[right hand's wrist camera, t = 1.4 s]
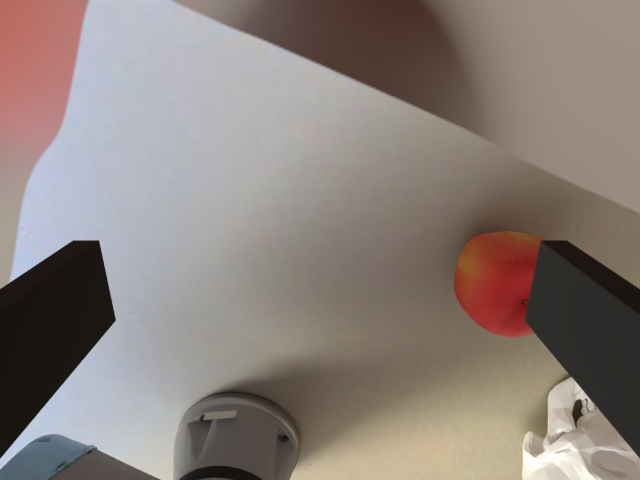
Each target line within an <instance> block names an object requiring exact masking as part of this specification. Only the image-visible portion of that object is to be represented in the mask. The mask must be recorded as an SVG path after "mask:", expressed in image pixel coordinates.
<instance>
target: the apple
mask: <svg viewBox="0 0 640 480" xmlns="http://www.w3.org/2000/svg"><path fill="white" fill-rule="evenodd" d="M541 241H546V240H545V239H543V238H541V237H538V236H536V235H532V234H529V233H524V232H515V231H497V232H489V233H484V234H480V235H478V236H475V237H473V238H471V239H470V240H469V241H468V242H467V243H466V244H465V246H464V247H463V249H462V251H461V253H460V255H459V258H458V261H457V264H456V270H455V276H454V289H455V293H456V297H457V299H458V301H459V303H460V305H461V306H462V308H463V309H464V310H465V312H466V313H467V314H468V315H469V316H470V317H471V318H472V319H473V320H474V321H475V322H476V323H478V324H479V325H480V326H482V327H483V328H485V329H486V330H488V331H490V332H492V333H494V334H497V335H501V336H507V337H521V336H526V335H529V334H532V333H534V331H533V330H532V329H531V328H530V327H529V325H528V324H527V323H526V322H525V321H524V319H525V314H526V309H527V305H528V300H529V295H530V290H531V286H532V281H533V276H534V271H535V267H536V262H537V257H538V252H539V248H540V243H541Z"/></svg>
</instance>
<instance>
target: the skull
mask: <svg viewBox="0 0 640 480" xmlns="http://www.w3.org/2000/svg"><path fill="white" fill-rule="evenodd" d="M587 398H588V403H587V401H586V400H585V399H587ZM577 399H581V402H582V407H583V408H582V409H581V412H582V414H583V416H581V417H580V418H579V419H578V421H577V428H576V426H575V423H574V420H573V416H572V411H573V407H574V403H575V401H576V400H577ZM586 405H587V407H588V408H587V407H586ZM595 407H596V406H595V404H594V403H593V402H592V401H591V400H590V398H589V397H588V396H587V395H586V394H585V392H584V391H583V390H582V389H581V388H580V386H579V385H578V384H577V383H576V382H575V380H574V379H573V378H572V377H569V378H567V379H565V380H564V381H562V382H560V383H559V384H557V385H556V386H555V387H554V388H553V389H552V390H551V391H550V393H549V396H548V433H547V435H546V436H545V437H541V436H540V435H538V434H537V433H536V432H534V431H529V432H528V433H527V434H526V435H525V438H524V442H523V480H640V458H639V457H638V456H637V455H636V453H635V452H634V451H633V450H632V449H631V447H630V446H629V445H628V444H627V443H626V441H625V440H624V439H623V438H622V437H621V435H620V434H619V433H618V432H617V431H616V430H615V428H614V427H613V426H612V425H611V424H610V422H609V421H608V420H607V419H606V418H605V416H604V415H603V414H602V413H601V412H600V410H599V409H598V408H597V407H596V408H597V409H595Z"/></svg>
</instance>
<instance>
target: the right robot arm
mask: <svg viewBox="0 0 640 480" xmlns="http://www.w3.org/2000/svg"><path fill="white" fill-rule="evenodd" d="M115 321H116V319H115V314H114V309H113V305H112V300H111V295H110V290H109V286H108V281H107V276H106V271H105V267H104V262H103V257H102V252H101V248H100V243H99V241H72V242H70V243H69V244H67V245H66V246H64V247H63V248H61V249H60V250H58V251H57V252H55V253H54V254H52V255H51V256H49V257H48V258H46V259H45V260H43V261H42V262H40V263H39V264H37V265H36V266H34V267H33V268H31V269H30V270H28V271H27V272H25V273H24V274H22V275H21V276H19V277H18V278H16V279H15V280H13V281H12V282H10V283H9V284H7V285H6V286H4V287H3V288H1V289H0V458H1V457H2V456H3V455H4V453H5V452H6V451H7V450H8V449H9V447H10V446H11V445H12V444H13V443H14V441H15V440H16V439H17V438H18V437H19V435H20V434H21V433H22V432H23V431H24V430H25V428H26V427H27V426H28V425H29V424H30V422H31V421H32V420H33V419H34V418H35V416H36V415H37V414H38V413H39V412H40V410H41V409H42V408H43V407H44V406H45V404H46V403H47V402H48V401H49V400H50V398H51V397H52V396H53V395H54V394H55V392H56V391H57V390H58V389H59V388H60V386H61V385H62V384H63V383H64V382H65V380H66V379H67V378H68V377H69V376H70V374H71V373H72V372H73V371H74V370H75V369H76V367H77V366H78V365H79V364H80V363H81V361H82V360H83V359H84V358H85V357H86V355H87V354H88V353H89V352H90V351H91V349H92V348H93V347H94V346H95V345H96V343H97V342H98V341H99V340H100V339H101V337H102V336H103V335H104V334H105V333H106V331H107V330H108V329H109V328H110V327H111V325H112V324H113V323H114V322H115ZM524 321H525V322H526V323H527V324H528V325H529V327H530V328H531V329H532V330H533V331H534V333H535V334H536V335H537V336H538V337H539V339H540V340H541V341H542V342H543V343H544V345H545V346H546V347H547V348H548V349H549V351H550V352H551V353H552V354H553V355H554V357H555V358H556V359H557V360H558V361H559V363H560V364H561V365H562V366H563V367H564V369H565V370H566V371H567V372H568V373H569V374H570V376H571V377H572V378H573V379H574V380H575V382H576V383H577V384H578V385H579V386H580V388H581V389H582V390H583V391H584V392H585V394H586V395H587V396H588V397H589V398H590V400H591V401H592V402H593V403H594V404H595V406H596V407H597V408H598V409H599V410H600V412H601V413H602V414H603V415H604V416H605V418H606V419H607V420H608V421H609V422H610V424H611V425H612V426H613V427H614V428H615V430H616V431H617V432H618V433H619V434H620V435H621V437H622V438H623V439H624V440H625V441H626V443H627V444H628V445H629V446H630V447H631V449H632V450H633V451H634V452H635V453H636V455H637V456H638V457H639V458H640V289H639V288H637V287H636V286H634V285H633V284H631V283H630V282H628V281H627V280H625V279H624V278H622V277H621V276H619V275H618V274H616V273H615V272H613V271H612V270H610V269H609V268H607V267H606V266H604V265H603V264H601V263H600V262H598V261H597V260H595V259H594V258H592V257H591V256H589V255H588V254H586V253H585V252H583V251H582V250H580V249H579V248H577V247H576V246H574V245H573V244H571V243H570V242H568V241H541V243H540V248H539V252H538V257H537V262H536V267H535V271H534V276H533V281H532V286H531V290H530V295H529V300H528V305H527V309H526V314H525V319H524ZM298 448H299V436H298V431H297V428H296V426H295V424H294V422H293V421H292V419H291V418H290V417H289V415H288V414H287V413H286V412H285V411H284V410H282V409H281V408H280V407H279V406H277V405H276V404H274V403H272V402H270V401H268V400H266V399H264V398H261V397H258V396H255V395H251V394H245V393H222V394H217V395H213V396H210V397H207V398H205V399H203V400H201V401H199V402H197V403H196V404H195V405H193V406H192V407H191V408H190V409H189V410H188V411H187V412H186V413H185V415H184V416H183V418H182V420H181V423H180V425H179V427H178V430H177V432H176V435H175V440H174V476H173V480H289V479H290V477H291V474H292V472H293V470H294V468H295V466H296V463H297V459H298ZM0 480H160V479H158V478H156V477H153V476H151V475H149V474H147V473H145V472H143V471H140V470H138V469H136V468H134V467H132V466H130V465H128V464H125V463H123V462H121V461H119V460H117V459H115V458H113V457H111V456H109V455H107V454H105V453H103V452H101V451H99V450H97V447H95V446H93V445H90V446H87V445H85V444H82V443H80V442H77V441H74V440H72V439H69V438H67V437H64V436H62V435H58V434H49V435H45V436H42V437H39V438H37V439H35V440H34V441H32V442H31V443H29V444H28V445H27V446H25V447H24V448H23V449H22V450H21V451H20V452H18V453H17V454H16V455H15V456H14V457H13V458H12V459H11V460H10V461H9V462H8V463H7V464H6V465H5V466H4V467H3V468H2V469H1V470H0Z"/></svg>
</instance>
